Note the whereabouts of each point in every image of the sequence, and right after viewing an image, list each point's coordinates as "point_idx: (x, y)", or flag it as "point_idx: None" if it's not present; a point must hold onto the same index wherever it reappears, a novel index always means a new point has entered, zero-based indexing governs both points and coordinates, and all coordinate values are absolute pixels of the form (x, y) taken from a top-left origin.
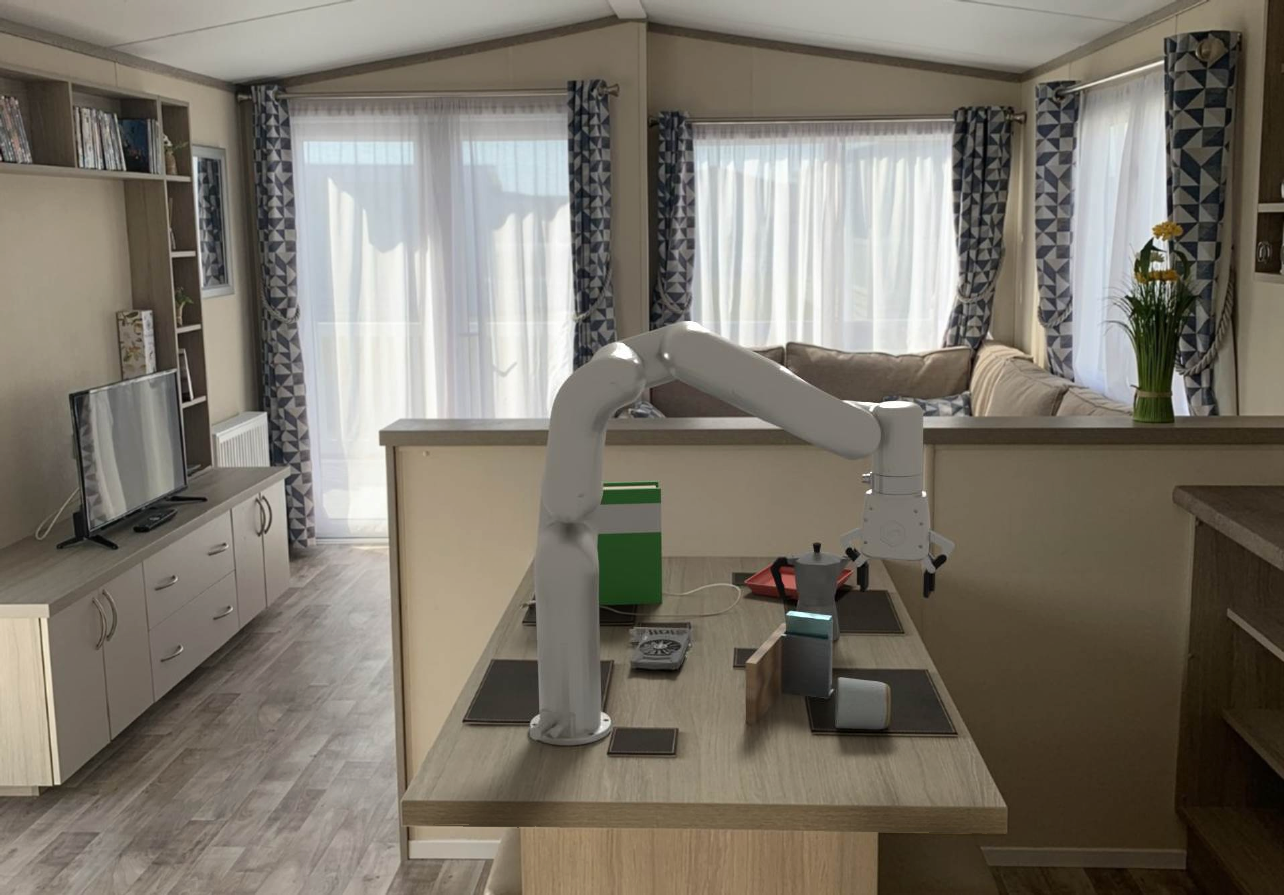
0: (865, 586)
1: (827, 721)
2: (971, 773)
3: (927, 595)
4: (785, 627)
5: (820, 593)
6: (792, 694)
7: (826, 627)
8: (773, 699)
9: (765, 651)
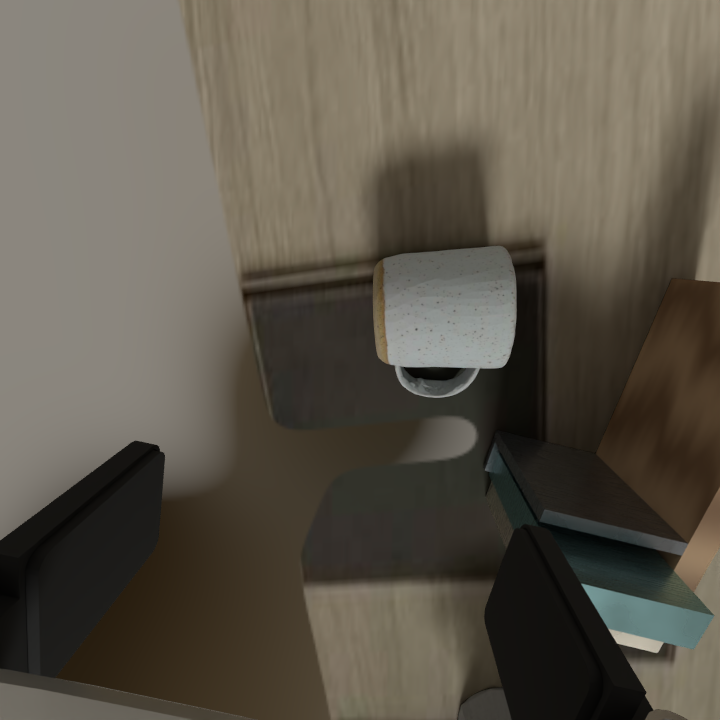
0: (519, 562)
1: None
2: (210, 86)
3: (132, 446)
4: None
5: None
6: (571, 448)
7: None
8: (621, 405)
9: None
